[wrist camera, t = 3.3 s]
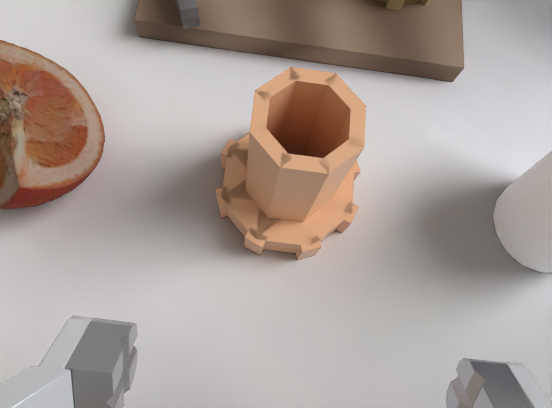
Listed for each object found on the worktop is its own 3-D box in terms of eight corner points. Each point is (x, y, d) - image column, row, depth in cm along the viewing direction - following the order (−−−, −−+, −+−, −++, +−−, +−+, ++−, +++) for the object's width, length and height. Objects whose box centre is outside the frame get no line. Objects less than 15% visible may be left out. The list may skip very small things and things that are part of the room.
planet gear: (353, 142, 27) (404, 51, 19) (347, 265, 24) (403, 223, 16) (228, 125, 26) (225, 25, 18) (209, 249, 24) (196, 197, 16)
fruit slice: (-25, 104, 25) (-84, 47, 21) (95, 76, 27) (65, 16, 22) (-1, 240, 23) (-61, 211, 18) (129, 202, 24) (104, 167, 20)
